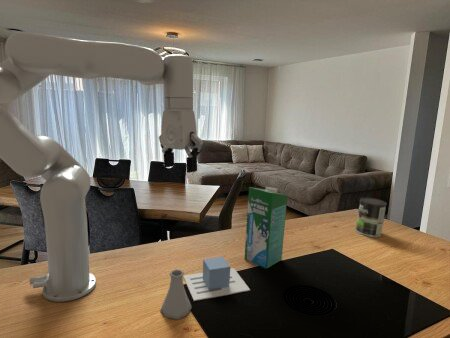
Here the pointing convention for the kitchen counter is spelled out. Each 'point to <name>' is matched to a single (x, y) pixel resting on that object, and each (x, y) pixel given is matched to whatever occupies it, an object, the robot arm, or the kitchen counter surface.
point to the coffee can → (370, 217)
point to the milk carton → (265, 226)
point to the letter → (202, 291)
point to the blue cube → (216, 273)
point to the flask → (176, 297)
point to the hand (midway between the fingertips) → (180, 169)
